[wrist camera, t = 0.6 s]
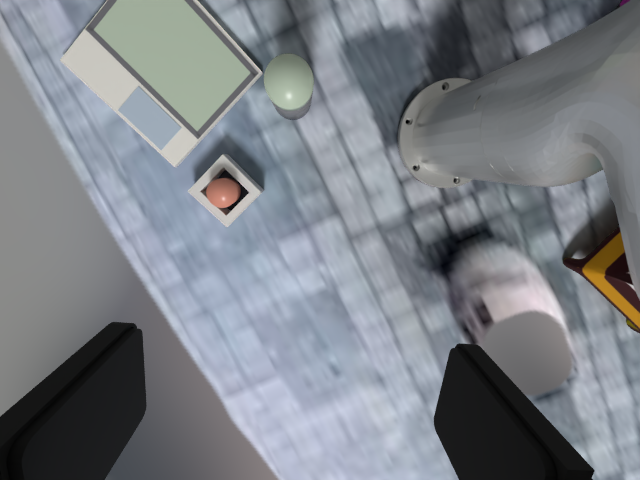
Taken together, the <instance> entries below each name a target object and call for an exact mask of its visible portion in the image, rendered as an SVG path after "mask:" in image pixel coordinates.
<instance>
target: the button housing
mask: <svg viewBox="0 0 640 480" xmlns="http://www.w3.org/2000/svg"><path fill="white" fill-rule="evenodd" d="M225 170H227V171H228V172H229V173H230V174H231V175H232V176H233V177H234V178H235V179H236V180H237V181H238V182H239V183H240V184H241V185H242V186H243V187H244V188H245V189H246V190H247V191H248V192H249V193H248V194H247V195H246V196H245V197H244V198H243V199H242V200H241V201H240V202H239V203H238V204H237V205H236V206H235V208H234V209H233V210H232V211H229V210H228V209H227V208H226V207H225V208H219V207H216V206H214V205H213V204H211V203H210V201H209V200H208V198H207V194H206V191H207V187H208V185H209V184H210V183H211V182H212V181H214V180H216V179H217V178H218V177H219V176H220V175H221V174H222V173H223V172H224V171H225ZM263 191H264V190H263V189H262V188H261V187H260V186H259V185H258V184H257V183H256V182H255V181H254V180H253V179H252V178H251V177H250V176H249V175H248V174H247V173H246V172H245V171H244V170H243V169H242V168H241V167H240V166H239V165H238V164H237V163H236V162H235V161H234V160H233V159H232V158H231V157H230V156H229V155H228V154H222V155H221V157H220V158H219V159H218V160H217V161H216V162H215V163H214V164H213V165H212V166H211V167H210V168H209V169H208V170H207V171H206V172H205V174H204V175H203V176H202V177H201V178H200V179H199V180H198V181H197V182H196V183H195V184H194V185H193V186H192V187H191V188H190V189H189V190H188V192H189V193H190V194H191V195H192V196H193V197H194V198H195V199H197V200H198V201H199V202H200V203H201V204H202V205H203V206H204V207H205V208H206V209H207V210H208V211H210V212H211V213H212V214H213V215H214V216H215V217H216V218H217V219H218V220H219V221H220V222H222V223H223V224H224V225H225V226H226V227H228V226H229V225H230V224H231V223H232V222H233V221H234V220H235V219H236V218H237V217H238V216H239V215H240V214H241V213H242V212H243V211H244V210H245V209H246V208H247V207H248V206H249V205H250V204H251V203H252V202H253V201H254V200H255V199H256V198H257V197H258V196H259V195H260V194H261V193H262V192H263Z"/></svg>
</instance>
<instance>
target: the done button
mask: <svg viewBox="0 0 640 480" xmlns="http://www.w3.org/2000/svg"><path fill="white" fill-rule="evenodd" d="M206 194H207V198H208V200H209V201H210V203H211V204H213V205H214V206H216V207H219V208H225V207H228V206H230V205H232V204H233V203H235V202H236V201H237V200H238V199H239V198H240V195H241V188H240V186H239V184H238V183H237V181H235V180H234V179H232V178H229V177H225V178H220V179H216V180H214V181H212V182H211V183H210V184H209V185H208V187H207V191H206Z"/></svg>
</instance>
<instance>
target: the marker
mask: <svg viewBox="0 0 640 480" xmlns="http://www.w3.org/2000/svg"><path fill="white" fill-rule="evenodd" d="M313 84H314V79H313V74H312V71H311V68H310V67H309V65H308V64H307V62H306V61H305V60H304V59H302V58H301V57H299V56H297V55H294V54H281V55H279V56H277V57H275V58H274V59H273V60H272V61H271V62H270V63H269V64H268V66H267V68H266V70H265V74H264V85H265V89H266V92H267V94H268V96H269V97H270V99H271V101H272V103H273V105H274V106H275V108H276V110H277V111H278V113H279V114H280V115H281V116H283V117H284V118H286V119H290V120H296V119H300V118H302V117H303V116H304V115H305V114H306V113H307V112H308V110H309V108H310V105H311V99H312V92H313Z"/></svg>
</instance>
